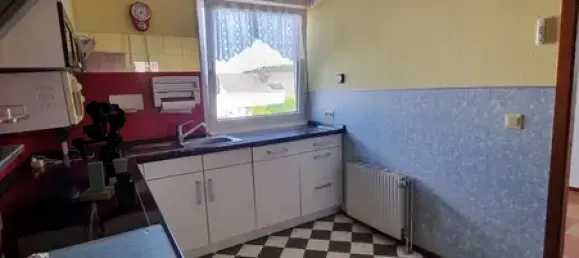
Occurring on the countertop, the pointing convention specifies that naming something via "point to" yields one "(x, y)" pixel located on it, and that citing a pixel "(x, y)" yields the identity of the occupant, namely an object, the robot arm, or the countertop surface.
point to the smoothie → (120, 164)
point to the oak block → (97, 194)
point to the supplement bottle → (125, 191)
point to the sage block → (96, 176)
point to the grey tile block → (112, 181)
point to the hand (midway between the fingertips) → (95, 158)
